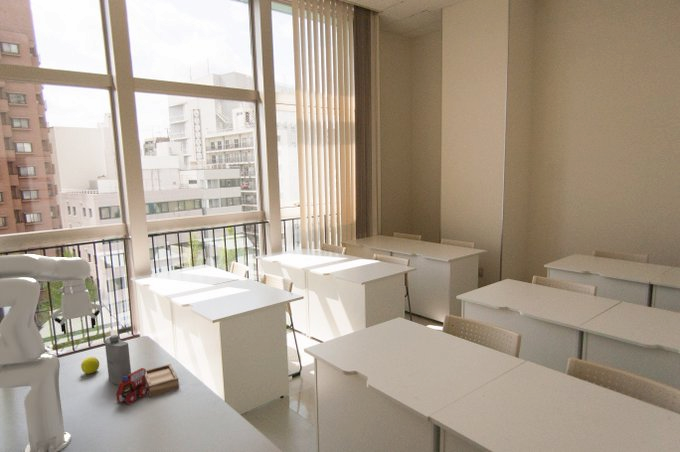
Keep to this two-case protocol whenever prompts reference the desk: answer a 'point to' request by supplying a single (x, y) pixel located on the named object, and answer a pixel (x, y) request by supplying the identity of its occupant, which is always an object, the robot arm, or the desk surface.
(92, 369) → the tennis ball
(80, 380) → the desk surface
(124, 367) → the flask
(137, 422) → the desk surface
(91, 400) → the desk surface
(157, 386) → the wooden tray
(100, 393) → the desk surface
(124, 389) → the toy fire truck
